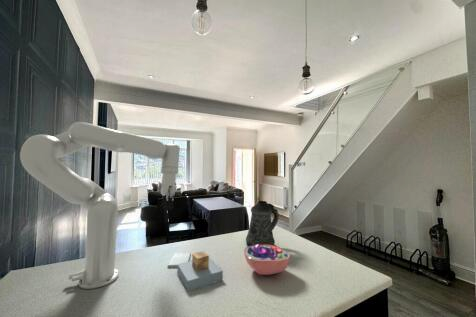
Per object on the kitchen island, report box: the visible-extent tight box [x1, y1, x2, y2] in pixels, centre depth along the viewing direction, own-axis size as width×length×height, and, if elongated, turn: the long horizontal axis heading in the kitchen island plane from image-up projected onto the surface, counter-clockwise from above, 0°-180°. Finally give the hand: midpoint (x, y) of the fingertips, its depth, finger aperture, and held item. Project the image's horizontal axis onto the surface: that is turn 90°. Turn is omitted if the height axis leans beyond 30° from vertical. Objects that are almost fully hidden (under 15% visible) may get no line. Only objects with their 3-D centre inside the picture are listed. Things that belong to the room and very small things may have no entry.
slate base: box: [176, 257, 224, 292], centre depth 79 cm, size 14×14×4 cm
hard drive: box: [167, 252, 192, 269], centre depth 91 cm, size 2×8×12 cm
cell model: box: [243, 244, 291, 276], centre depth 83 cm, size 17×20×11 cm
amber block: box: [191, 250, 210, 272], centre depth 79 cm, size 5×5×5 cm
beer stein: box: [245, 200, 280, 247], centre depth 113 cm, size 16×19×25 cm
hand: (167, 207), depth 90 cm, fingers open, 9 cm apart
